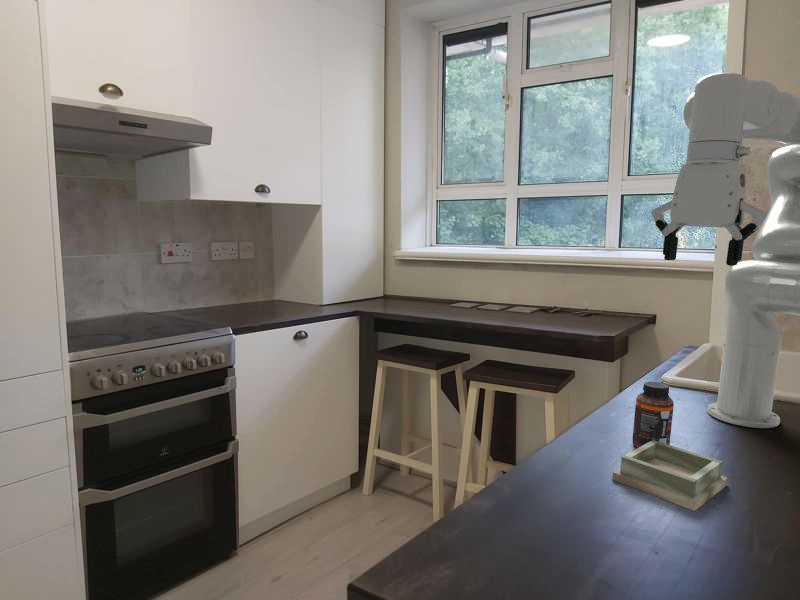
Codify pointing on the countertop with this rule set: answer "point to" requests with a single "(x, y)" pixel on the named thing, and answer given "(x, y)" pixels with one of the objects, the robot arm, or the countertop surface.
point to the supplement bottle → (653, 415)
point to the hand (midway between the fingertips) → (699, 262)
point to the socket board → (672, 474)
